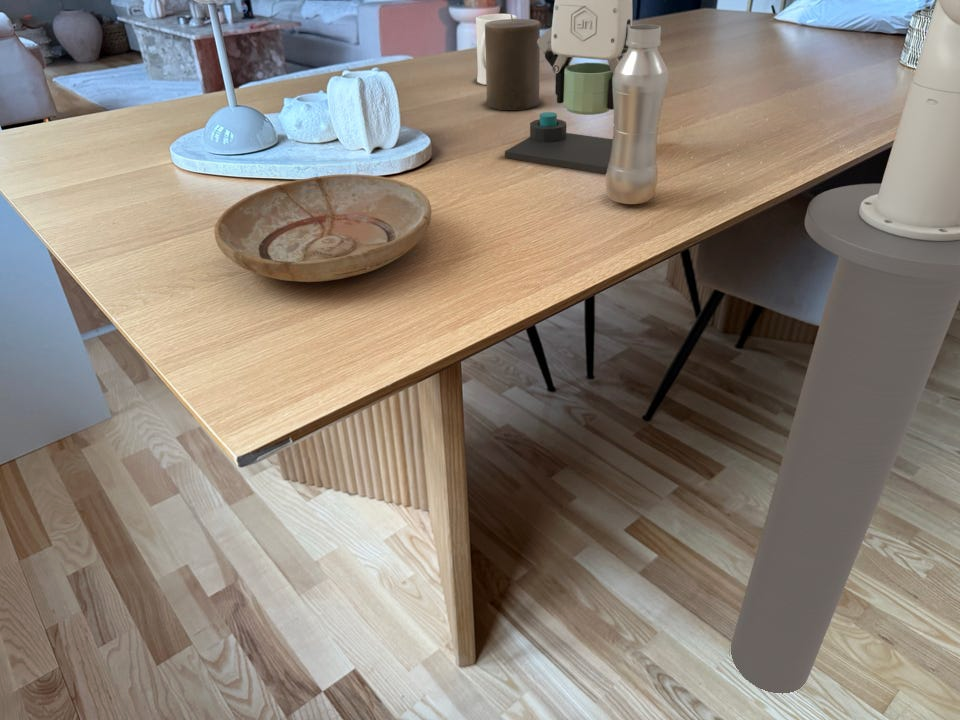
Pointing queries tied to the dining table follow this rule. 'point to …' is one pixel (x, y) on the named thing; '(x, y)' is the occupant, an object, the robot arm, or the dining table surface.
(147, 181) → the dining table surface
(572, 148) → the scale
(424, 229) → the ceramic bowl
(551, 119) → the button
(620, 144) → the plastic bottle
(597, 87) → the green cup
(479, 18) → the mug
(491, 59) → the pillar candle
